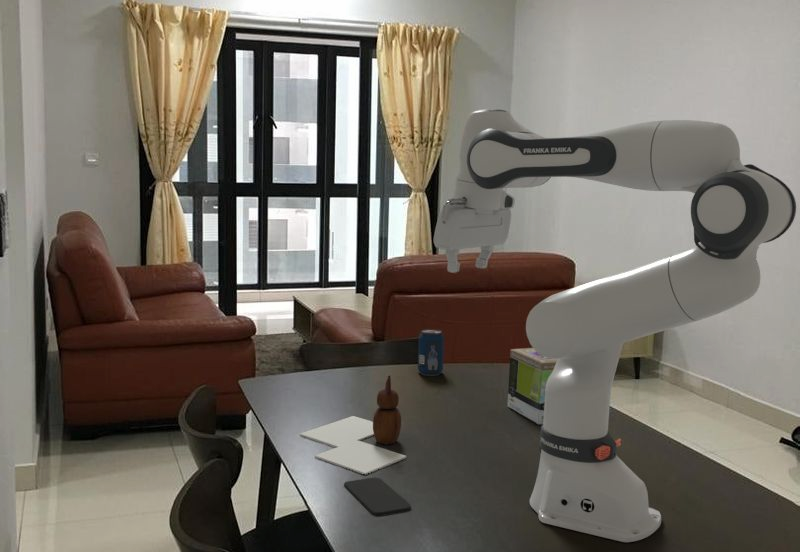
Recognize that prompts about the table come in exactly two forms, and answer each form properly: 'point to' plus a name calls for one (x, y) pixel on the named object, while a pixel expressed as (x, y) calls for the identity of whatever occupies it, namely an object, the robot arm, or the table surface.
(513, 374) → the tea box
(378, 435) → the wooden figurine
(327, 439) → the mat front
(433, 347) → the soda can
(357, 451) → the mat side
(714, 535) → the table surface
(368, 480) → the phone
